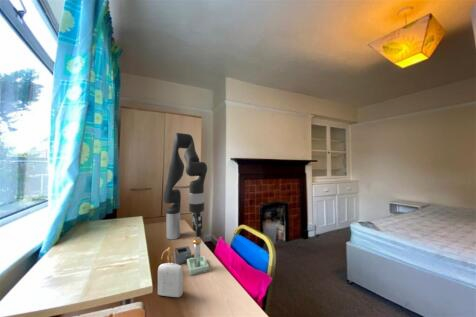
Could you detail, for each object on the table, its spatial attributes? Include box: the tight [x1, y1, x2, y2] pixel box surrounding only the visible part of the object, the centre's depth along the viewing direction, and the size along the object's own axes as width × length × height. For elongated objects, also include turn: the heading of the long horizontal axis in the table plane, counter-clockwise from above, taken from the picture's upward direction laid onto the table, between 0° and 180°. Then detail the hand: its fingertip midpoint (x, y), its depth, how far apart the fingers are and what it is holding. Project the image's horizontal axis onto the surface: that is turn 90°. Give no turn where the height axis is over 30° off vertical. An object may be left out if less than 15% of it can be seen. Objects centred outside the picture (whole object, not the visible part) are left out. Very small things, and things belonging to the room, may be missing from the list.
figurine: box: [160, 246, 179, 263], centre depth 96 cm, size 8×6×12 cm
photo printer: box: [157, 262, 184, 298], centre depth 81 cm, size 10×4×12 cm, turn 81°
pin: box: [192, 237, 202, 268], centre depth 100 cm, size 4×4×13 cm
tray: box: [186, 255, 210, 276], centre depth 100 cm, size 11×9×2 cm
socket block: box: [173, 245, 192, 265], centre depth 108 cm, size 8×8×5 cm
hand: (196, 233), depth 100 cm, fingers open, 8 cm apart
